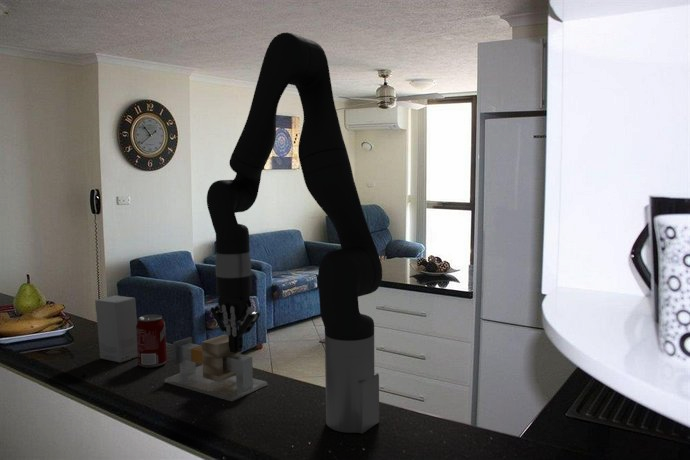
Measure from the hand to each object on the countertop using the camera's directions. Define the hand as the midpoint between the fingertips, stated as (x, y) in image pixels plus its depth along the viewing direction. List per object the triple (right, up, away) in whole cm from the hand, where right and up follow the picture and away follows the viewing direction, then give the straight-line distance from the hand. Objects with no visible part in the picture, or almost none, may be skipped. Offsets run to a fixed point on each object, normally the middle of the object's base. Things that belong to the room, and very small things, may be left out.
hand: (235, 351), depth 129 cm
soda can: (-24, -7, +18) cm, 31 cm away
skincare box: (-34, -7, +24) cm, 43 cm away
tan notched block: (-4, -6, +3) cm, 7 cm away
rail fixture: (-5, -8, +4) cm, 11 cm away
